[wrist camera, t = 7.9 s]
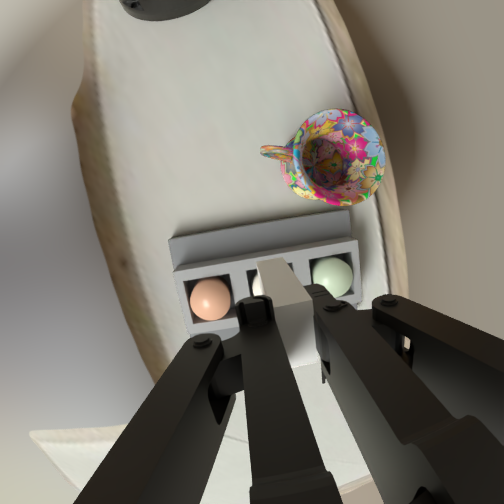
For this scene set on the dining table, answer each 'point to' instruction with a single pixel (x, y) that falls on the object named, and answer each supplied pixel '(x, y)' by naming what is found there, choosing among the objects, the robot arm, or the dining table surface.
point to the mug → (332, 158)
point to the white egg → (256, 284)
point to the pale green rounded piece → (331, 274)
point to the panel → (259, 259)
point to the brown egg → (210, 298)
